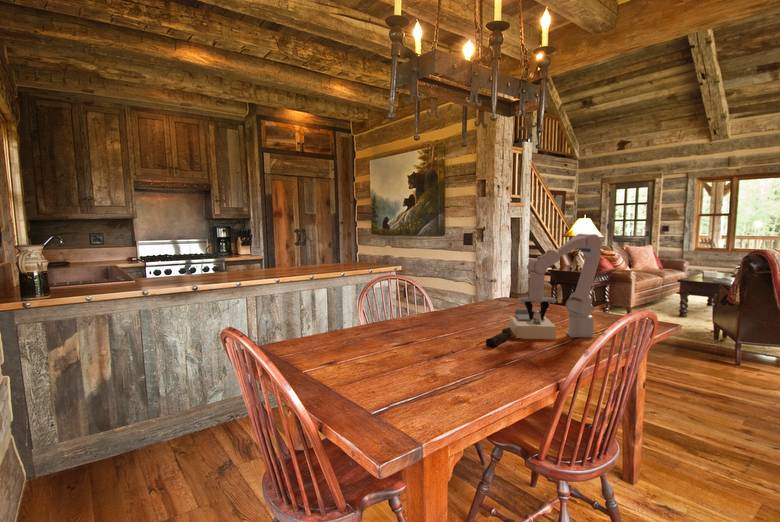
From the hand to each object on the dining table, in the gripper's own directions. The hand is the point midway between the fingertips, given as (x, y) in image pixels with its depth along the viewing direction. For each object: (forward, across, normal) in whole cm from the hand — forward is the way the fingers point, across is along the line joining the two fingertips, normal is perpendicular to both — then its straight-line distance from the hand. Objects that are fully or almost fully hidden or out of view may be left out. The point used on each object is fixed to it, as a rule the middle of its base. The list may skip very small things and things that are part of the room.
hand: (536, 319), depth 169 cm
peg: (+2, 0, 0) cm, 2 cm away
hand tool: (+9, -16, -6) cm, 19 cm away
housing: (+8, 0, +9) cm, 12 cm away
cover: (+3, 0, +14) cm, 14 cm away
